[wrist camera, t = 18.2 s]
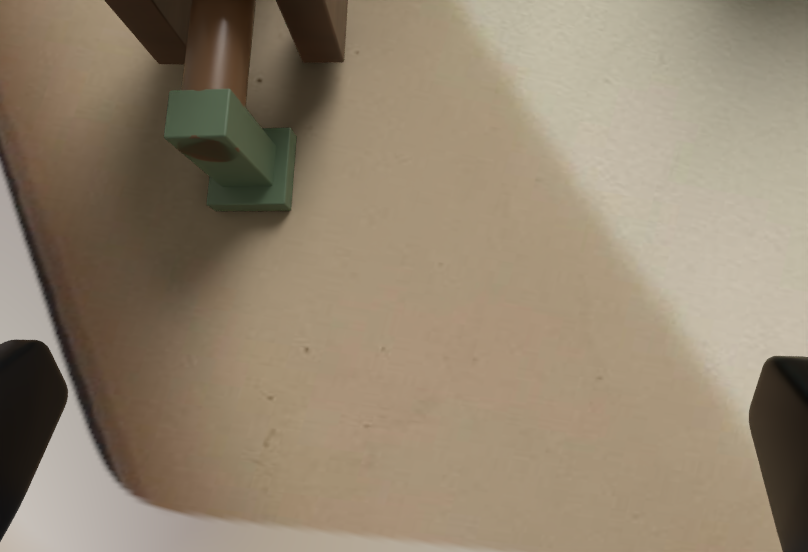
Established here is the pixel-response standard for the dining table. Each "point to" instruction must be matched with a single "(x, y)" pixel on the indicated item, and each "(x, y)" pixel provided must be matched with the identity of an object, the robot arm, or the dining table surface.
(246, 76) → the stand
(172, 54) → the brown stepped block
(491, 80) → the dining table surface
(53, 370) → the robot arm
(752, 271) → the dining table surface
